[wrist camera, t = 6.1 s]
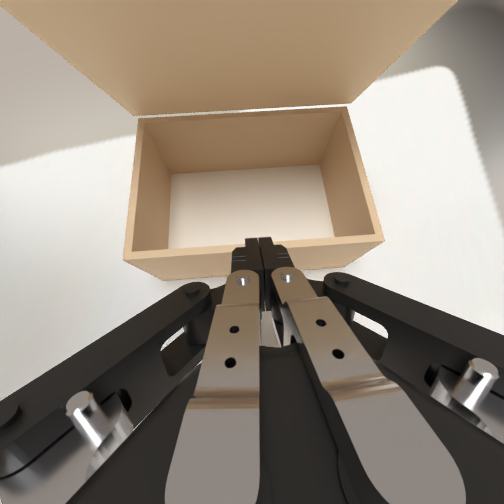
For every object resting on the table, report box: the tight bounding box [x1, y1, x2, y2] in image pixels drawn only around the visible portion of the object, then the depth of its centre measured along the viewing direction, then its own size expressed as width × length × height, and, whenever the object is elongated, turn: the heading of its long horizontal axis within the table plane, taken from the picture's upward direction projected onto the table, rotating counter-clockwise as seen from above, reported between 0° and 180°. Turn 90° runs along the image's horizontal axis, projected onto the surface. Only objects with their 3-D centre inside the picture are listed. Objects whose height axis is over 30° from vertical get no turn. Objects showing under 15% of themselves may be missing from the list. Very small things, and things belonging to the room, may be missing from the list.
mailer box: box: [123, 106, 385, 281], centre depth 23 cm, size 20×14×8 cm
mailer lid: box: [0, 0, 458, 116], centre depth 14 cm, size 21×14×1 cm
